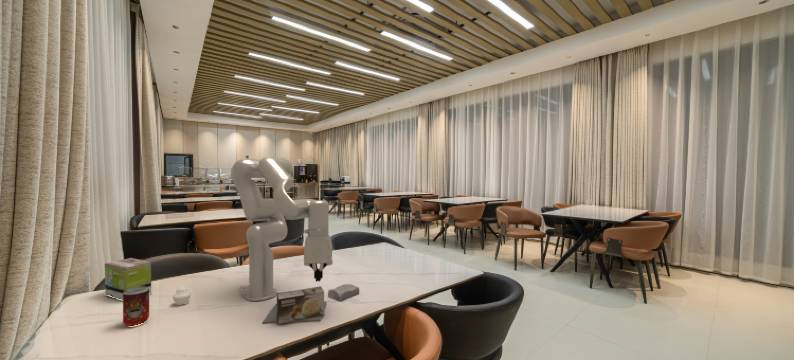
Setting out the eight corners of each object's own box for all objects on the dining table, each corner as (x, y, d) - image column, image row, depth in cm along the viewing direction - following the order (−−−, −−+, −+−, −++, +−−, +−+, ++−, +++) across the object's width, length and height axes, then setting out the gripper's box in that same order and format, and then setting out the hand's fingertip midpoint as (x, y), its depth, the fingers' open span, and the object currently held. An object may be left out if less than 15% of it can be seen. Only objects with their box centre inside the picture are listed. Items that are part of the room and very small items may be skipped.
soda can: (123, 330, 103) (123, 294, 103) (122, 323, 108) (122, 288, 108) (150, 324, 107) (150, 289, 107) (148, 317, 113) (148, 283, 113)
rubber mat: (262, 323, 108) (262, 321, 108) (276, 304, 124) (276, 303, 124) (320, 321, 110) (320, 319, 110) (326, 302, 126) (326, 301, 126)
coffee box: (320, 285, 119) (276, 291, 111) (324, 291, 113) (278, 298, 106) (320, 308, 119) (276, 316, 112) (324, 315, 113) (278, 324, 106)
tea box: (104, 297, 131) (103, 262, 130) (131, 289, 140) (131, 257, 140) (124, 303, 125) (124, 266, 125) (152, 294, 134) (152, 260, 134)
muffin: (171, 304, 124) (171, 286, 124) (188, 299, 128) (188, 283, 128) (174, 308, 120) (174, 290, 120) (193, 303, 124) (193, 286, 124)
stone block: (325, 301, 132) (341, 302, 126) (324, 290, 133) (340, 290, 127) (345, 294, 142) (361, 294, 136) (344, 283, 142) (360, 283, 136)
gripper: (296, 234, 113) (296, 284, 113) (337, 234, 114) (337, 283, 114) (300, 231, 120) (300, 277, 120) (339, 230, 122) (339, 276, 122)
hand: (318, 280), depth 117 cm, fingers closed
